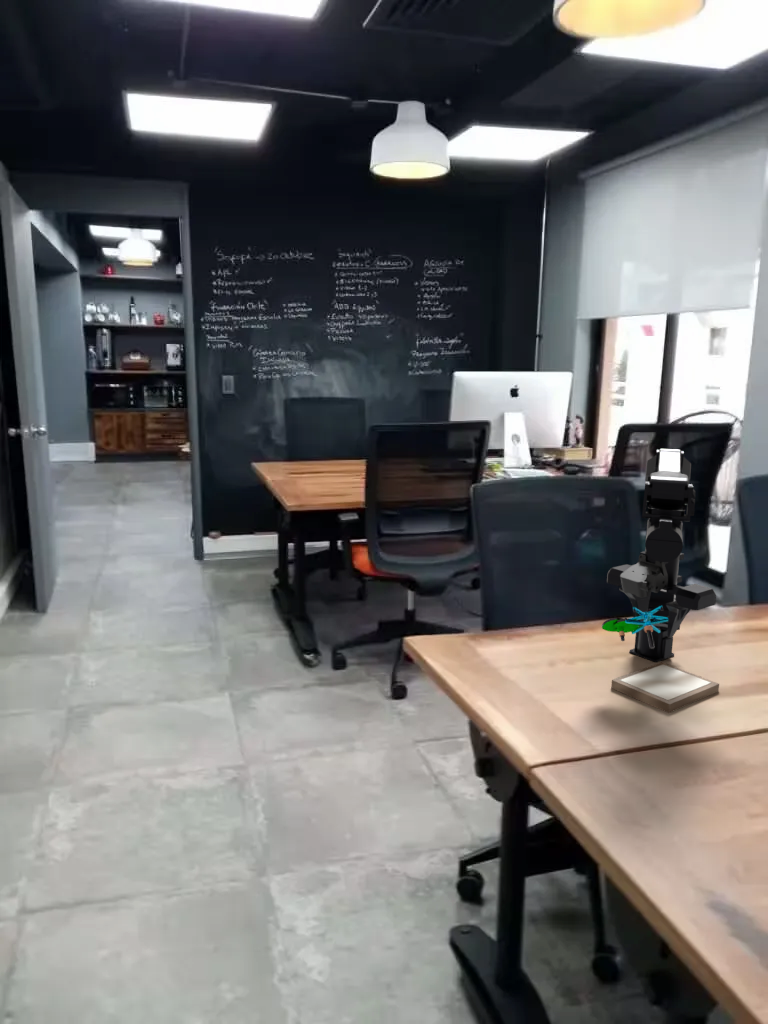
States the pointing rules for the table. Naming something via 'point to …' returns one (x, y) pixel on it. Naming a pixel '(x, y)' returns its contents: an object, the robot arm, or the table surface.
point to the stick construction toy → (636, 624)
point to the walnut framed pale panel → (665, 686)
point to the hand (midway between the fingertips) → (655, 631)
